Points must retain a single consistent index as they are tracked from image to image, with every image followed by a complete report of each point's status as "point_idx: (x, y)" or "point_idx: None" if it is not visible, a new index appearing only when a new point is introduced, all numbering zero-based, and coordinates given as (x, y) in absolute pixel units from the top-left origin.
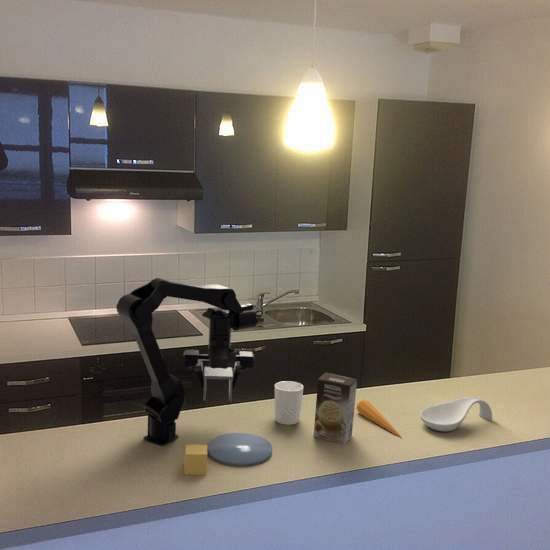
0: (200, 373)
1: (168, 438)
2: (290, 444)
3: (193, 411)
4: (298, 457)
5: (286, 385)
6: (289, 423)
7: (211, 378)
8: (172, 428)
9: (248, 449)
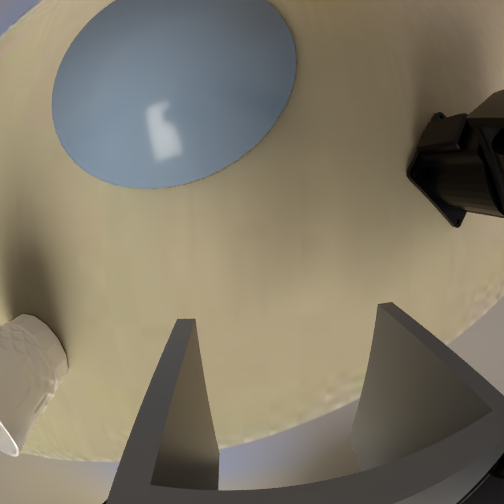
0: (498, 460)
1: (436, 121)
2: (13, 162)
3: (345, 397)
4: (14, 85)
5: (10, 441)
6: (22, 315)
7: (453, 440)
8: (450, 126)
9: (131, 45)
